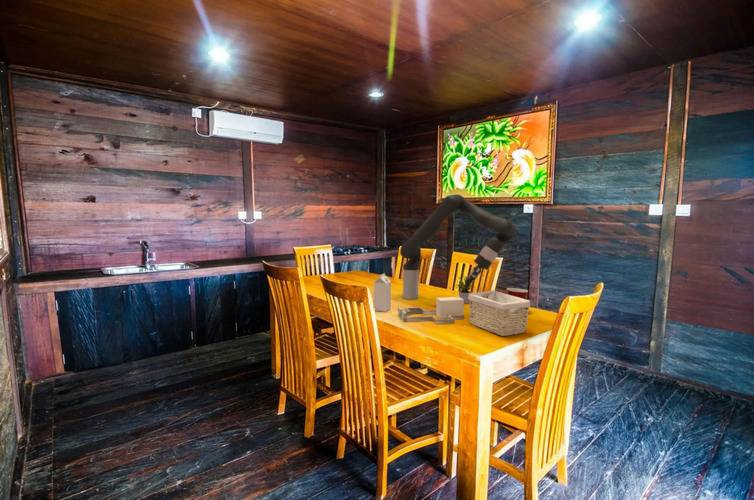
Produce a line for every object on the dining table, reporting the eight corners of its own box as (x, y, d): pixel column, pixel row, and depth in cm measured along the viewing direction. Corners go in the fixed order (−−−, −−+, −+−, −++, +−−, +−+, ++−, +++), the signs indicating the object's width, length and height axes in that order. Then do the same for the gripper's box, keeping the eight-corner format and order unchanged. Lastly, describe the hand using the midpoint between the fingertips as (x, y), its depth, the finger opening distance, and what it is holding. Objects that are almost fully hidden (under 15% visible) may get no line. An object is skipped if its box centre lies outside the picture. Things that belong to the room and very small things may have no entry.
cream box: (436, 315, 196) (436, 297, 195) (458, 314, 198) (459, 297, 197) (440, 318, 190) (440, 300, 189) (463, 317, 192) (463, 299, 191)
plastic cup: (530, 311, 204) (531, 288, 203) (522, 315, 196) (523, 292, 195) (510, 307, 212) (511, 285, 210) (501, 311, 204) (502, 288, 202)
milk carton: (373, 310, 203) (373, 275, 201) (378, 307, 210) (378, 272, 208) (386, 312, 201) (386, 276, 198) (390, 308, 207) (391, 273, 205)
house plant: (483, 301, 224) (484, 273, 222) (475, 306, 213) (476, 277, 211) (459, 298, 232) (460, 271, 230) (450, 303, 220) (451, 274, 218)
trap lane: (395, 312, 201) (395, 304, 201) (450, 309, 207) (450, 302, 206) (407, 325, 178) (407, 317, 178) (468, 322, 184) (468, 314, 183)
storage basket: (465, 323, 184) (466, 292, 182) (492, 319, 190) (493, 289, 189) (501, 338, 162) (503, 304, 160) (530, 333, 169) (532, 300, 167)
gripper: (478, 253, 192) (459, 279, 194) (479, 253, 178) (459, 282, 180) (491, 261, 191) (472, 288, 193) (493, 262, 177) (473, 291, 179)
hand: (466, 285), depth 187 cm, fingers open, 8 cm apart
